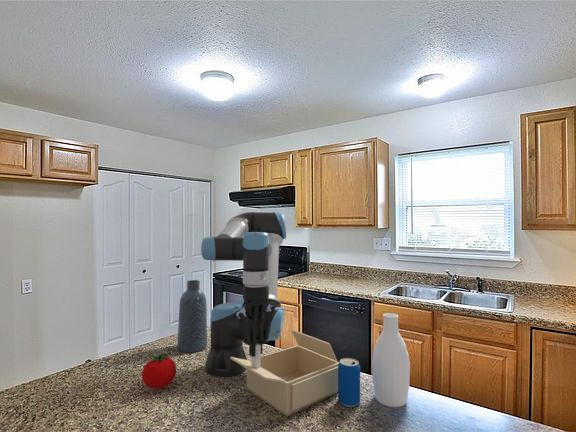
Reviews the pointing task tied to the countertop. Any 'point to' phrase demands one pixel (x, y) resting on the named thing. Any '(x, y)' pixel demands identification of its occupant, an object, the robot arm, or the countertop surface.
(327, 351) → the flap
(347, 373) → the beverage can
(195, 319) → the vase
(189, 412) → the countertop surface
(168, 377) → the tomato
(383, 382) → the bottle
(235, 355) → the robot arm
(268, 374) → the flap
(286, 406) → the carton
